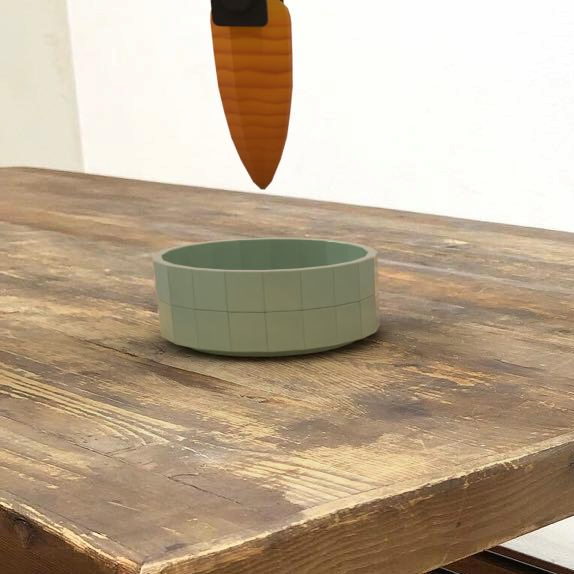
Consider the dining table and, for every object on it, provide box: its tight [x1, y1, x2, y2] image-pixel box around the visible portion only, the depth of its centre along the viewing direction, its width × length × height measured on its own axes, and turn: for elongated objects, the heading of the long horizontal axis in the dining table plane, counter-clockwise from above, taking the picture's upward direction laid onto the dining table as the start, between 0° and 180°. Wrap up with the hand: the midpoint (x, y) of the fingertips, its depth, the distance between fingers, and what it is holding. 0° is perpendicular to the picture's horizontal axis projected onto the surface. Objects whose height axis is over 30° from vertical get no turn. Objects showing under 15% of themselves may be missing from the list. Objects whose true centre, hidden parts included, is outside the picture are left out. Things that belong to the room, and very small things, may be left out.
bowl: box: [151, 237, 381, 358], centre depth 81 cm, size 14×14×6 cm
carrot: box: [209, 0, 294, 191], centre depth 76 cm, size 5×5×15 cm
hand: (250, 23), depth 75 cm, fingers closed on carrot, 4 cm apart
